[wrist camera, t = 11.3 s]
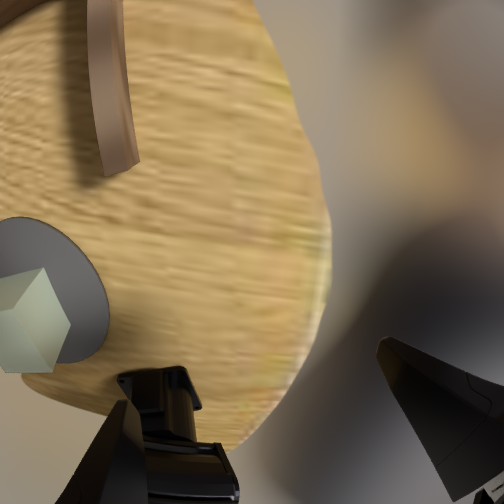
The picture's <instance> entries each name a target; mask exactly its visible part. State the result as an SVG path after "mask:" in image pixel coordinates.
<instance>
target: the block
mask: <svg viewBox="0 0 504 504" xmlns="http://www.w3.org/2000/svg"><path fill="white" fill-rule="evenodd" d="M70 326H71V324H70V322H69V320H68V318H67V317H66V315H65V313H64V311H63V309H62V307H61V305H60V303H59V301H58V298H57V296H56V294H55V292H54V290H53V288H52V285H51V283H50V281H49V279H48V276H47V274H46V272H45V269H44V267H43V268H39V269H35V270H31V271H27V272H23V273H19V274H15V275H11V276H8V277H4V278H0V366H1V367H2V369H3V370H4V371H5V373H46V372H53V369H54V367H55V364H56V361H57V358H58V356H59V353H60V350H61V348H62V345H63V343H64V340H65V338H66V335H67V333H68V331H69V328H70Z"/></svg>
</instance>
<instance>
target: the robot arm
mask: <svg viewBox="0 0 504 504" xmlns="http://www.w3.org/2000/svg"><path fill="white" fill-rule="evenodd" d="M376 359H377V361H378V363H379V366H380V368H381V370H382V372H383V374H384V376H385V378H386V381H387V383H388V385H389V387H390V389H391V391H392V393H393V395H394V396H395V398H396V400H397V401H398V403H399V405H400V407H401V408H402V410H403V412H404V413H405V415H406V417H407V418H408V420H409V422H410V424H411V425H412V427H413V429H414V431H415V432H416V434H417V436H418V438H419V440H420V441H421V443H422V445H423V446H424V448H425V450H426V452H427V454H428V456H429V457H430V459H431V461H432V463H433V465H434V467H435V469H436V471H437V473H438V474H439V476H440V478H441V480H442V482H443V484H444V486H445V488H446V490H447V492H448V494H449V496H450V498H451V500H452V501H453V502H455V501H457V500H459V499H461V498H463V497H464V496H466V495H468V494H470V493H471V492H473V491H475V490H476V489H478V488H479V487H481V486H483V488H482V489H481V490H479V491H478V492H477V493H476V495H475V499H474V502H473V504H504V386H502V385H499V384H496V383H493V382H490V381H487V380H484V379H482V378H479V377H477V376H475V375H472V374H470V373H468V372H465V371H464V370H461V369H459V368H457V367H455V366H453V365H450V364H448V363H446V362H444V361H442V360H440V359H438V358H436V357H433V356H431V355H429V354H427V353H425V352H423V351H421V350H419V349H416V348H414V347H412V346H410V345H408V344H406V343H404V342H402V341H399V340H397V339H395V338H393V337H391V336H388V337H385V338H383V339H381V340H380V341H379V344H378V348H377V353H376ZM117 383H118V384H119V386H120V387H121V388H122V390H123V391H124V393H125V394H126V396H127V397H128V399H129V400H127V399H126V400H118V401H117V402H116V404H115V405H114V407H113V409H112V410H111V412H110V413H109V415H108V417H107V418H106V420H105V422H104V423H103V425H102V427H101V428H100V430H99V432H98V433H97V435H96V436H95V438H94V440H93V441H92V443H91V445H90V447H89V449H88V450H87V452H86V453H85V455H84V457H83V458H82V460H81V462H80V464H79V466H78V467H77V469H76V471H75V472H74V475H73V476H72V478H71V479H70V481H69V483H68V484H67V486H66V488H65V489H64V491H63V493H62V494H61V495H60V497H59V498H58V500H57V501H56V502H55V504H238V502H239V496H240V492H239V491H240V490H239V484H238V480H237V477H236V475H235V473H234V471H233V469H232V467H231V465H230V463H229V460H228V459H227V456H226V454H225V452H224V449H223V447H222V445H221V443H215V442H214V443H202V442H197V438H196V430H195V422H194V413H193V411H197V410H201V409H202V403H201V401H200V399H199V397H198V395H197V393H196V390H195V388H194V386H193V384H192V381H191V379H190V377H189V374H188V372H187V369H186V368H184V367H173V368H167V369H160V370H153V371H146V372H138V373H129V374H120V375H118V376H117Z"/></svg>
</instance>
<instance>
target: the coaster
mask: <svg viewBox="0 0 504 504" xmlns="http://www.w3.org/2000/svg"><path fill="white" fill-rule="evenodd" d="M43 267H44V269H45V272H46V274H47V276H48V279H49V281H50V283H51V285H52V288H53V290H54V292H55V294H56V296H57V298H58V301H59V303H60V305H61V307H62V309H63V311H64V313H65V315H66V317H67V318H68V320H69V322H70V324H71V326H70V328H69V331H68V333H67V335H66V338H65V340H64V343H63V345H62V348H61V350H60V353H59V356H58V358H57V361H56V363H74V362H78V361H82V360H84V359H86V358H88V357H90V356H91V355H93V354H94V353H95V352H96V351H97V350H98V349H99V348H100V346H101V345H102V343H103V341H104V339H105V337H106V334H107V330H108V325H109V316H110V314H109V304H108V299H107V295H106V292H105V289H104V286H103V283H102V281H101V279H100V277H99V275H98V273H97V271H96V270H95V268H94V266H93V265H92V263H91V262H90V260H89V259H88V258H87V256H86V255H85V254H84V253H83V252H82V250H81V249H80V248H79V247H78V246H77V245H76V244H75V243H74V242H73V241H72V240H71V239H70V238H69V237H67V236H66V235H65V234H63V233H62V232H61V231H59V230H58V229H56V228H54V227H53V226H51V225H49V224H47V223H45V222H42V221H40V220H37V219H33V218H29V217H11V218H8V219H4V220H2V221H0V278H4V277H8V276H11V275H15V274H19V273H23V272H27V271H31V270H35V269H39V268H43Z"/></svg>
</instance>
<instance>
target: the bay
mask: <svg viewBox="0 0 504 504" xmlns="http://www.w3.org/2000/svg"><path fill="white" fill-rule="evenodd" d="M45 1H47V0H0V27H1V26H2V25H4V24H6V23H7V22H9V21H10V20H12V19H14V18H15V17H17V16H19V15H20V14H22V13H24V12H26V11H27V10H29V9H31V8H33V7H35V6H37V5H39V4H41V3H43V2H45ZM87 46H88V65H89V78H90V88H91V98H92V106H93V113H94V120H95V127H96V133H97V139H98V145H99V150H100V156H101V161H102V166H103V171H104V175H105V176H108V175H112V174H116V173H119V172H123V171H127V170H129V169H130V168H132V167H133V166H134V165H136V164H137V163H139V162H140V159H139V154H138V148H137V143H136V137H135V131H134V124H133V118H132V111H131V103H130V95H129V87H128V78H127V68H126V57H125V43H124V25H123V0H88V2H87Z"/></svg>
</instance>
